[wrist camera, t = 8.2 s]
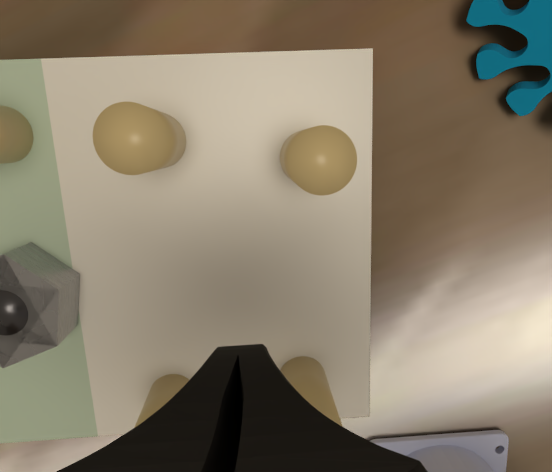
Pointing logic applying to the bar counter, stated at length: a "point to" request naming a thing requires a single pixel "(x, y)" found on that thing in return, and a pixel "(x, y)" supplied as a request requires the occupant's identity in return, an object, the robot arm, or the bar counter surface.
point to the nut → (35, 303)
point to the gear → (539, 51)
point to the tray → (190, 226)
